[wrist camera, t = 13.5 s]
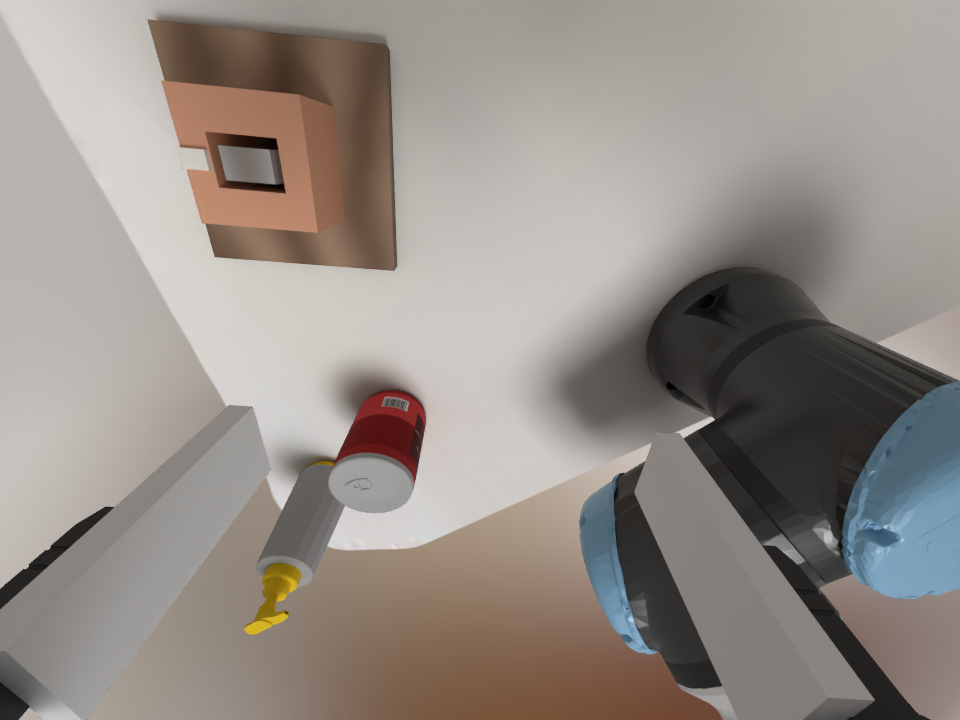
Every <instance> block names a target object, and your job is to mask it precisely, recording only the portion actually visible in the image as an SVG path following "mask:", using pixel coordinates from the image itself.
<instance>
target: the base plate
mask: <svg viewBox="0 0 960 720" xmlns="http://www.w3.org/2000/svg"><path fill="white" fill-rule="evenodd" d="M148 23H149V27H150V30H151V34H152V37H153V41H154V44H155V48H156V51H157V55H158V58H159V62H160V65H161V69H162V72H163V76H164V79H165V81H171V82H181V83H191V84H200V85H210V86H220V87H230V88H240V89H249V90H259V91H269V92H279V93H288V94H298V95H302V96H305V97H307V98H310V99H313V100H316V101H318V102H321V103H324V104H327V105H329V106H332V107H334V113H335V123H336V133H337V144H338V154H339V164H340V175H341V185H342V195H343V205H344V216H345V220H344V221H342V222H340V223H338V224H336V225H334V226H331V227H329V228H327V229H325V230H323V231H321V232H319V233H314V232H302V231H290V230H278V229H266V228H254V227H242V226H230V225H218V224H206V223H205V224H206V227H207V231H208V234H209V238H210V242H211V245H212V249H213V252H214V256H215V257H220V258H234V259H247V260H260V261H273V262H286V263H300V264H313V265H326V266H339V267H352V268H365V269H379V270H392V271H394V270H395V269H396V267H397V250H396V222H395V193H394V165H393V136H392V108H391V80H390V51H389V49H388V48H387V47H386V45H384V44H374V43H365V42H355V41H346V40H337V39H327V38H318V37H308V36H299V35H289V34H280V33H270V32H261V31H251V30H242V29H232V28H223V27H213V26H204V25H194V24H185V23H175V22H166V21H156V20H148ZM256 138H257V143H258V147H242V146H222V145H218V148H219V152H220V156H221V160H222V164H223V169H224V173H225V177H226V180H230V181H241V182H253V183H265V184H284V179H283V173H282V167H281V161H280V156H279V150H278V144H277V139H276V138H266V137H256Z"/></svg>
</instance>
